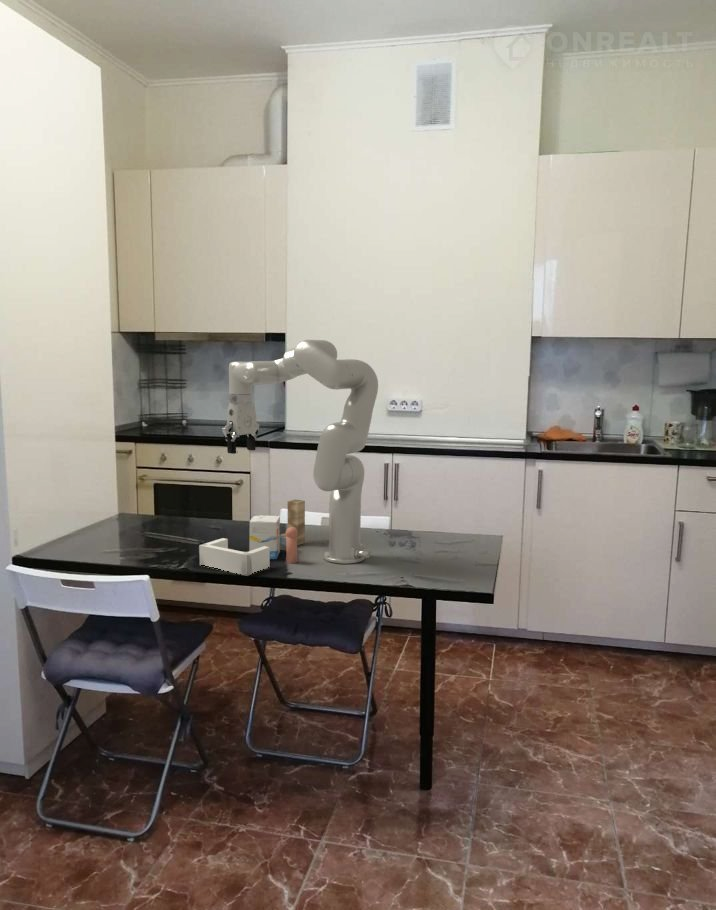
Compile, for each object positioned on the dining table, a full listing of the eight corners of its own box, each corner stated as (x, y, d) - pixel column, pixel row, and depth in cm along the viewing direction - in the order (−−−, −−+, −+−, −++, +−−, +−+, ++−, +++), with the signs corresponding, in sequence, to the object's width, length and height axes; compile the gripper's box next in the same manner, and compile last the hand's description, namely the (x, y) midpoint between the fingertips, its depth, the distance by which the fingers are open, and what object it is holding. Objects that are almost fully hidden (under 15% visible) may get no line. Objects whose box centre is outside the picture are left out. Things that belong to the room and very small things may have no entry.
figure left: (300, 561, 217) (300, 526, 215) (292, 564, 214) (292, 529, 212) (290, 559, 219) (290, 525, 217) (283, 562, 216) (283, 527, 214)
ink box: (276, 559, 218) (276, 521, 217) (248, 559, 218) (248, 521, 217) (280, 551, 227) (280, 515, 225) (253, 551, 227) (253, 514, 225)
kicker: (312, 544, 235) (312, 501, 233) (291, 551, 226) (291, 507, 224) (287, 539, 240) (287, 498, 238) (266, 547, 231) (266, 504, 229)
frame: (269, 567, 210) (269, 547, 210) (247, 575, 202) (246, 555, 201) (222, 557, 220) (222, 538, 219) (199, 565, 211) (199, 545, 211)
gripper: (231, 401, 227) (232, 455, 229) (266, 398, 241) (267, 449, 244) (214, 400, 231) (215, 453, 233) (249, 397, 245) (249, 448, 248)
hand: (241, 451), depth 238 cm, fingers open, 9 cm apart
